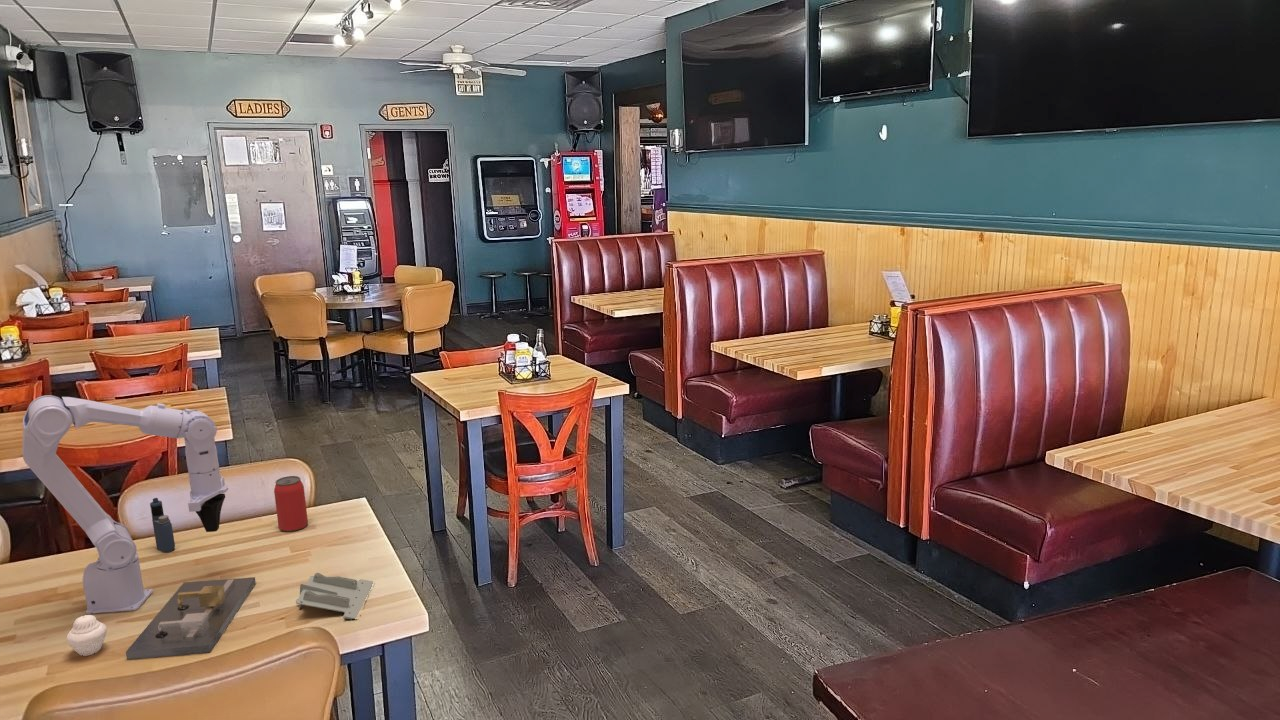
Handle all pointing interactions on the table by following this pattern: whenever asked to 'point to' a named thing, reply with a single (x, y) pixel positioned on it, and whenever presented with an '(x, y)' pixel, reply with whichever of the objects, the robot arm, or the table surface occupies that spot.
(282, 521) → the beer can
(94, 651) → the muffin
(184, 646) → the plate
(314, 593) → the metal bracket
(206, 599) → the brass slider
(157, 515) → the vaping device
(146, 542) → the table surface
